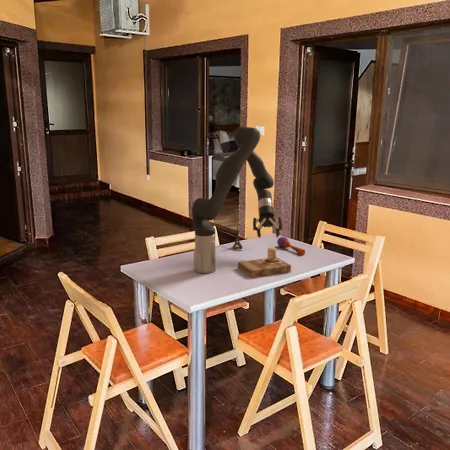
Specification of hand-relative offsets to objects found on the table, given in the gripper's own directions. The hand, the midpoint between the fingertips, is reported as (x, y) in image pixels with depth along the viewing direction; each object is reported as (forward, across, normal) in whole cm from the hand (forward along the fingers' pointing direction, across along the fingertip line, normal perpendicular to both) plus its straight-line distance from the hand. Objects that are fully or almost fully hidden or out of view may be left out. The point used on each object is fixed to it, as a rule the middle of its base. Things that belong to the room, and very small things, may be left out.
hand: (268, 236), depth 232 cm
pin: (+16, 0, 0) cm, 16 cm away
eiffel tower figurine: (-7, -14, +25) cm, 29 cm away
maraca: (-3, +14, +20) cm, 25 cm away
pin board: (+19, -4, -2) cm, 20 cm away
